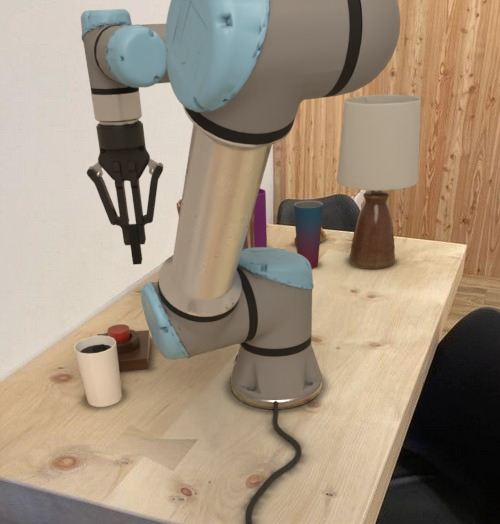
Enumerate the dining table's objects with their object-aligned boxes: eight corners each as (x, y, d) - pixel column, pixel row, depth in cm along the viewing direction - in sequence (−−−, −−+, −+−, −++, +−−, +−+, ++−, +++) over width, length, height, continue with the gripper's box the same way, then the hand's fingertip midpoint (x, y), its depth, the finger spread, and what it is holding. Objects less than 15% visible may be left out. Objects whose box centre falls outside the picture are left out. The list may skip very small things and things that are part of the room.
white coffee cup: (91, 387, 110) (81, 335, 105) (129, 388, 109) (121, 335, 104) (79, 407, 104) (67, 353, 99) (118, 408, 103) (109, 354, 98)
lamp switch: (130, 342, 116) (128, 332, 115) (108, 344, 116) (106, 334, 115) (131, 333, 119) (130, 323, 118) (110, 335, 119) (108, 325, 118)
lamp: (322, 255, 164) (326, 98, 144) (387, 246, 168) (399, 92, 149) (354, 279, 148) (363, 107, 129) (424, 268, 153) (443, 100, 134)
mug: (271, 244, 173) (269, 187, 165) (255, 263, 161) (253, 203, 153) (239, 242, 176) (236, 186, 168) (220, 261, 163) (217, 201, 155)
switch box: (148, 369, 115) (145, 349, 113) (92, 373, 114) (88, 353, 112) (150, 340, 125) (147, 321, 123) (99, 344, 124) (95, 325, 122)
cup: (326, 262, 159) (327, 202, 151) (313, 271, 154) (314, 209, 146) (302, 258, 162) (302, 199, 154) (289, 267, 157) (288, 205, 150)
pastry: (308, 249, 168) (308, 235, 167) (287, 245, 172) (287, 231, 170) (328, 240, 174) (328, 226, 172) (308, 236, 178) (308, 222, 176)
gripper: (160, 115, 106) (174, 252, 119) (81, 119, 105) (103, 257, 118) (158, 122, 100) (173, 266, 112) (74, 127, 99) (99, 271, 111)
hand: (137, 261), depth 115 cm, fingers closed
